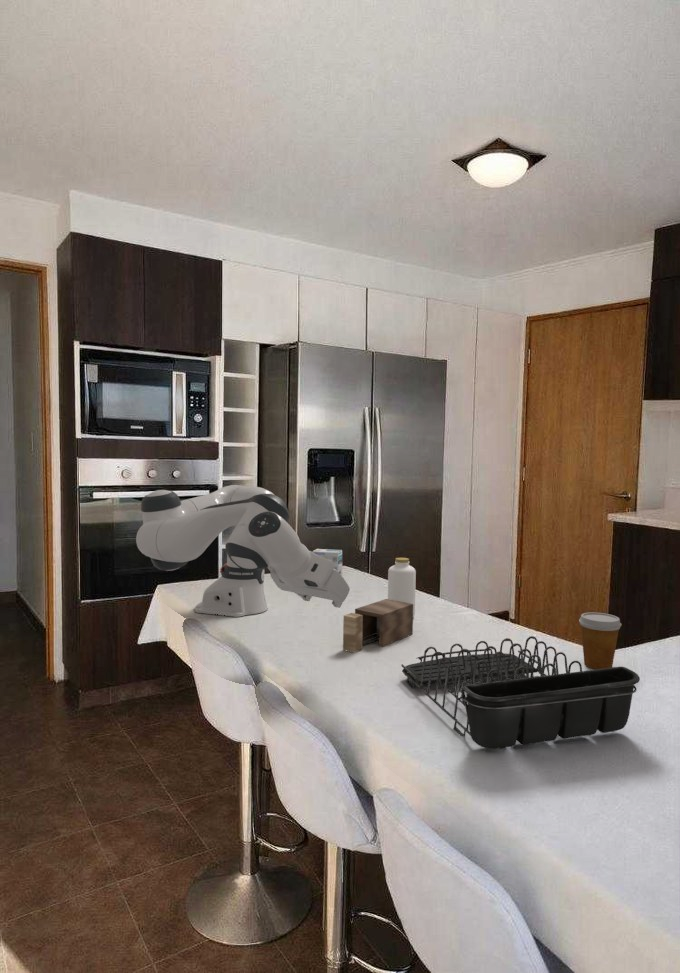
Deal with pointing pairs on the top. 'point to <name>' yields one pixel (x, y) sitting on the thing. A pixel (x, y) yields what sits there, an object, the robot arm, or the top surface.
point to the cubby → (387, 620)
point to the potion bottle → (402, 582)
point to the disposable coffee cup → (599, 639)
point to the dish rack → (526, 695)
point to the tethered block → (355, 632)
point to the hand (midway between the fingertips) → (323, 601)
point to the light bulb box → (331, 557)
